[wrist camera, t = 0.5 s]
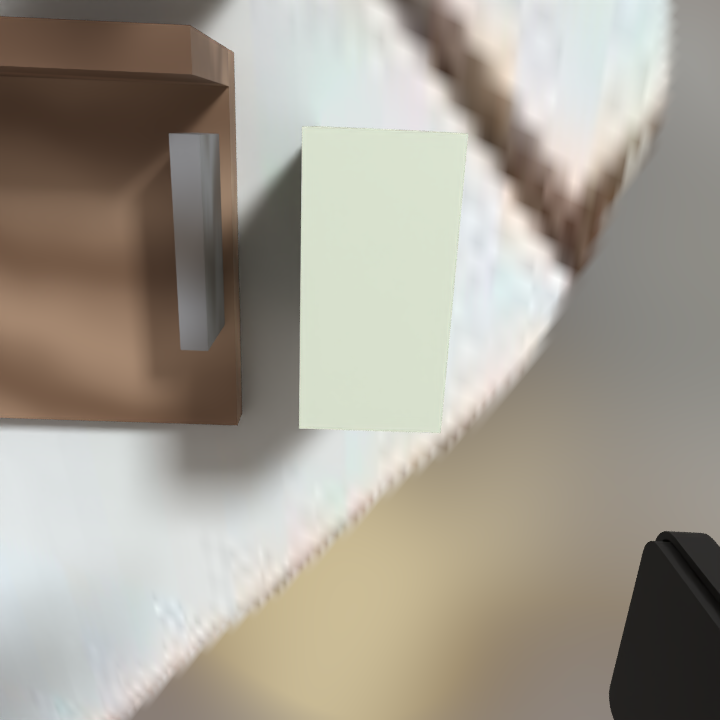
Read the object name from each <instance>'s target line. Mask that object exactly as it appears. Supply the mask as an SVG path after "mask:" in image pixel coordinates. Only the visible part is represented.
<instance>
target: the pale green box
mask: <svg viewBox="0 0 720 720" xmlns="http://www.w3.org/2000/svg"><path fill="white" fill-rule="evenodd" d="M467 140H468V134H463V133H449V132H435V131H417V130H394V129H371V128H348V127H324V126H311V127H302V181H301V281H300V380H299V429H329V430H360V431H391V432H422V433H441V424H442V413H443V402H444V391H445V380H446V369H447V359H448V348H449V337H450V326H451V315H452V304H453V293H454V282H455V271H456V260H457V249H458V238H459V228H460V217H461V206H462V195H463V184H464V173H465V162H466V151H467Z"/></svg>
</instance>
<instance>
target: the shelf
mask: <svg viewBox="0 0 720 720" xmlns="http://www.w3.org/2000/svg"><path fill="white" fill-rule="evenodd" d="M241 415H242V392H241V347H240V303H239V258H238V213H237V168H236V123H235V78H234V52H232V51H231V50H229V49H227V48H226V47H224V46H223V45H221V44H219V43H218V42H216V41H215V40H213V39H211V38H210V37H208V36H207V35H205V34H203V33H202V32H200V31H199V30H197V29H195V28H194V27H192V26H191V25H175V24H154V23H132V22H111V21H89V20H68V19H47V18H25V17H4V16H0V418H26V419H57V420H88V421H119V422H150V423H181V424H212V425H238V423H239V420H240V417H241Z"/></svg>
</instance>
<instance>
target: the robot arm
mask: <svg viewBox="0 0 720 720" xmlns="http://www.w3.org/2000/svg"><path fill="white" fill-rule="evenodd" d="M609 701H610V708H611V712H612V715H613V718H614V720H720V547H719V546H718V544H717V543H716V542H715V541H714V540H713V539H712V538H711V537H710V536H709V535H707V534H704V533H691V532H689V533H688V532H669V531H664V532H662V533H660V534H659V535H658V537H657V538H656V541H650V542H648V543H647V544H646V545H645V547H644V550H643V554H642V558H641V562H640V566H639V571H638V575H637V578H636V582H635V587H634V591H633V595H632V599H631V603H630V607H629V611H628V615H627V620H626V623H625V627H624V632H623V636H622V640H621V644H620V648H619V652H618V656H617V660H616V664H615V668H614V673H613V677H612V681H611V685H610V690H609Z"/></svg>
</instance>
